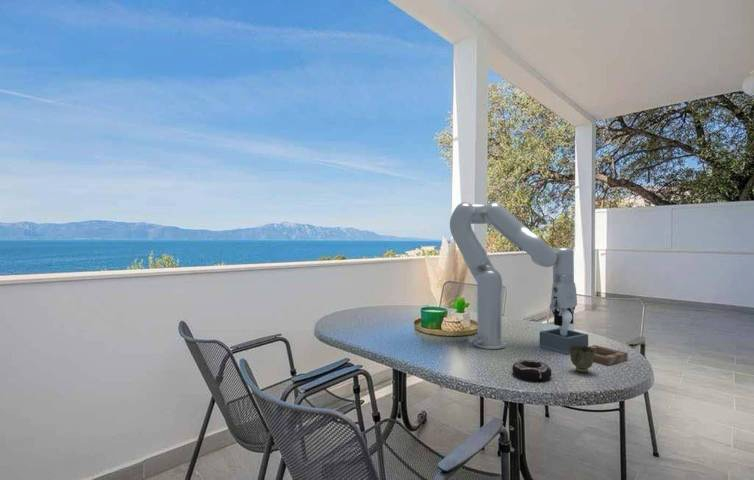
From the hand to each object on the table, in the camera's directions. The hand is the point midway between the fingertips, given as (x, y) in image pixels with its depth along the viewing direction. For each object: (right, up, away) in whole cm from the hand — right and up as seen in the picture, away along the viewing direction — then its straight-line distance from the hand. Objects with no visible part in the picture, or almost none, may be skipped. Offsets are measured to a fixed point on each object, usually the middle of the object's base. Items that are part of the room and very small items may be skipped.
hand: (563, 323), depth 155 cm
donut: (-24, -11, -30) cm, 40 cm away
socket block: (+7, -10, -13) cm, 18 cm away
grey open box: (0, -10, 0) cm, 10 cm away
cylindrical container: (+10, -10, +19) cm, 24 cm away
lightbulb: (0, -5, 0) cm, 5 cm away
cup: (-7, -10, -27) cm, 29 cm away
